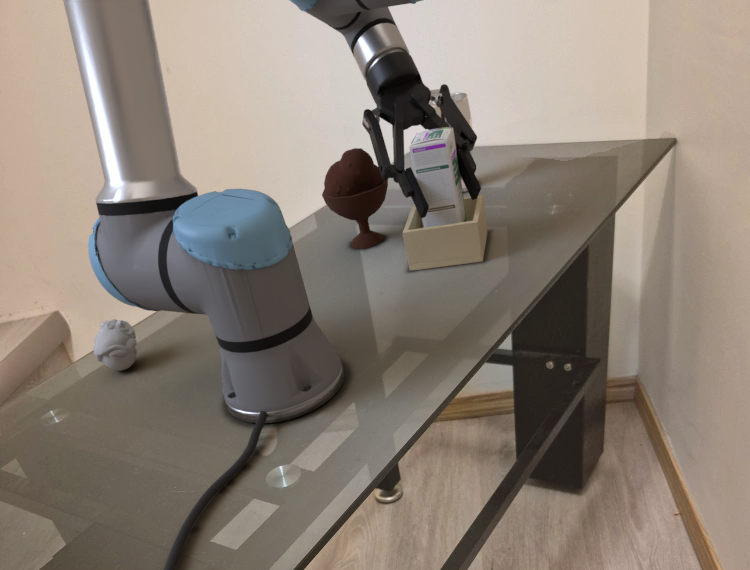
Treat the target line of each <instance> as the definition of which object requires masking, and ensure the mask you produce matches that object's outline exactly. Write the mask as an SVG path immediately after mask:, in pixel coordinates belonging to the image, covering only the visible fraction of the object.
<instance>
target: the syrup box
mask: <svg viewBox="0 0 750 570" xmlns="http://www.w3.org/2000/svg"><path fill="white" fill-rule="evenodd" d="M408 149H409V153H410V158H411V159H410V160H411V164H412V171H413V173H414V176H415V178H416V180H417V182H418V184H419V186H420V188H421V190H422V193H423V195H424V197H425V199H426V201H427V203H428V206H429V208H428V212H427V215H426V217H424V218H422V220H423V226H424V228H426V227H433V226H439V225H446V224H453V223H460V222H467V219H466V212H465V205H464V198H463V197H464V192H463V191H462V184H461V178H460V171H459V164H458V157H457V150H456V144H455V137H454V130H453V127H444V128H436V129H431V130H428V129H427V130H424V131H420V132H416V133H415V135H414V137H413V138H412V140H411V142H410V144H409V146H408Z"/></svg>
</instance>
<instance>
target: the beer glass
mask: <svg viewBox="0 0 750 570" xmlns="http://www.w3.org/2000/svg"><path fill="white" fill-rule="evenodd" d="M450 95H451V98H452V100H453V101H454V103H455V104H456V106H457V107H458V109H459V110H460V112H461V113H462V115H463V116H464V118H465V119H466V121H467V122H468V123H469V125H470V126H471V128H472V129H473V121H472V120H473V118H472V113H471V108H470V102H469V98H468V93H466V92H452V93H450ZM429 104H430V105H431V106H432V107H433V108H434V109H435V110H436V113H437V114H438V115H439V116H440V117H441V118H442V119H443V120H444V121H445V122H446V123H447V124H448V125H449V123H448V122H447V120H446V119H445V117H444V116H443V114H442V112H441V110H440V107H436V104H435V102H434V101H430V102H429ZM449 126H450V125H449ZM450 127H451V126H450ZM470 153H471V155H472V156H473V150H472V151H470ZM460 178H461V184H462V191H463V193H466V192H468V190H467V188H466V186H465V184H464V182H463V180H462V177H461V175H460Z"/></svg>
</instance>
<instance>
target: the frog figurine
mask: <svg viewBox="0 0 750 570" xmlns="http://www.w3.org/2000/svg"><path fill="white" fill-rule="evenodd" d="M93 342H94V343H93V355H94V356H95V357H96V359H97V361H98V362H99V363H102V364H103V365H104V366H105V367H107V368H108V369H109V370H112V371H116V372H122V371H125V370H127V369H129V368H130V367H132V366H133V364H135V361H136V358H137V353H138V351H137V348H136V346H137V344H138V343H137V336H136V331H135V329H134V327H133V326H132V325H131V323H129V322H128V321H126V320H124V319H123V320H121V319H119V320H118V319H116V318H115V319H108V320H103V321H102V322H100V326H99V329H98V331H97V333H96V334H95V337H94V341H93Z"/></svg>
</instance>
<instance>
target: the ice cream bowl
mask: <svg viewBox="0 0 750 570" xmlns="http://www.w3.org/2000/svg"><path fill="white" fill-rule="evenodd" d="M323 185H324V186H323V187H324V189H323V191H322V193H321V196H322V199H323V201H324V203H325V204H326V206H327V207H328V208H329V210H330V211H331V212H333V213H334V214H336V215H338V216H340V217H342V218H344V219H347V220H350V221H356V223H357V224H358V225H357V226H358V231H359V233H358V234H356V236H355V237H354V238H353V239H352V241H351V248H354V249H356V250H359V249H361V250H362V249H363V250H364V249H368V248H371V247H375V246H377V245H379V244H380V243H382V242H383V239H384V236H383V234H381V233H379V232H377V231H373V230H371V227H370V223H369V218H370V217H371V216H372V215H374V214H376V213H377V211H379V210H380V208H381V207H382V205H383V204H384V202H385V200H386V196H387V192H388V187H389V178H388V179H387V180H384V179H382V177H381V174H380V171H379V167H378V165H376V164H375V163H374V160H373V158H372V156H371V155H370V153H368V152H367V151H366V150H364V149H363V148H361V147H360V148H358V147H357V148H356V147H353V148H351V149H347V150H345V151H344V152H343V153H342V155H341V157H340V160H337V161H335V162H334V163H333V164H332V165H330V167H329V168H328V170H327V172H326V174H325V176H324V182H323Z"/></svg>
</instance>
